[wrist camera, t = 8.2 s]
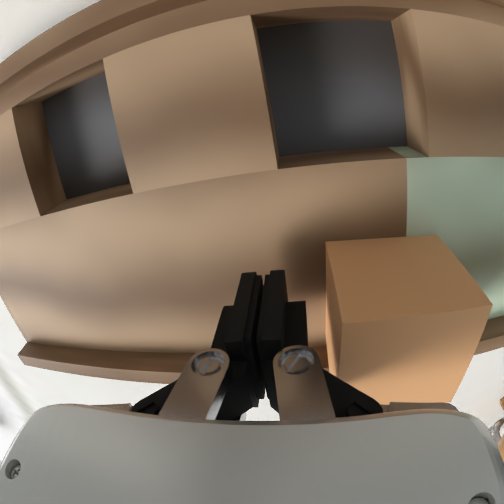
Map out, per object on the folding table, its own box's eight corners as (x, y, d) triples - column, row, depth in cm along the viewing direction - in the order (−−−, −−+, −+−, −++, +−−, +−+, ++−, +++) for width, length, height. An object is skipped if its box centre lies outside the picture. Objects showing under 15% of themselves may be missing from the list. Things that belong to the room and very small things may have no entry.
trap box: (-26, 118, 14) (-72, 134, 10) (506, 10, 8) (557, 2, 4) (51, 328, 22) (24, 364, 18) (499, 295, 16) (530, 338, 12)
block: (325, 241, 13) (342, 323, 8) (436, 234, 12) (493, 304, 7) (325, 333, 15) (333, 419, 10) (420, 324, 14) (450, 401, 10)
